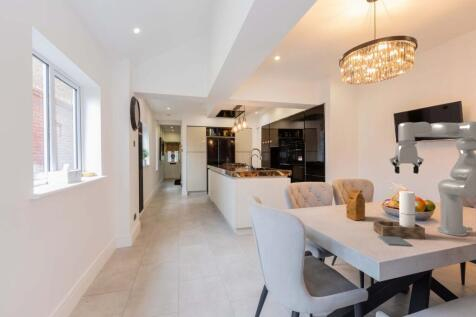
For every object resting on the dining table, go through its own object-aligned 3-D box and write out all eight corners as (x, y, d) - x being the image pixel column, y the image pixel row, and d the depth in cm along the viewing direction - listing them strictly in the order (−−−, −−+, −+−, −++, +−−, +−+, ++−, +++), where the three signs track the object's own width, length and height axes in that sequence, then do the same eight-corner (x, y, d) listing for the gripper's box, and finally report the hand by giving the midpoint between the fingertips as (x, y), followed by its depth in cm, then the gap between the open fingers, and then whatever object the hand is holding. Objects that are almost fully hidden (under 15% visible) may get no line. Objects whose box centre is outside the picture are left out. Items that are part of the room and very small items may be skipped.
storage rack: (411, 231, 130) (411, 221, 130) (425, 238, 119) (424, 228, 119) (373, 230, 134) (373, 220, 133) (382, 237, 122) (382, 226, 122)
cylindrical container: (409, 237, 121) (408, 193, 121) (396, 233, 128) (396, 191, 128) (418, 236, 123) (418, 192, 123) (405, 232, 130) (405, 190, 130)
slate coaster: (399, 238, 120) (399, 236, 120) (412, 246, 109) (412, 244, 109) (378, 237, 122) (378, 235, 122) (388, 245, 111) (388, 243, 111)
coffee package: (356, 216, 166) (356, 187, 166) (367, 220, 153) (367, 190, 153) (344, 216, 165) (343, 187, 165) (354, 221, 153) (353, 190, 153)
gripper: (418, 144, 128) (418, 173, 128) (386, 144, 130) (386, 172, 130) (427, 143, 120) (427, 174, 120) (393, 143, 123) (393, 173, 123)
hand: (406, 173), depth 125 cm, fingers open, 9 cm apart
